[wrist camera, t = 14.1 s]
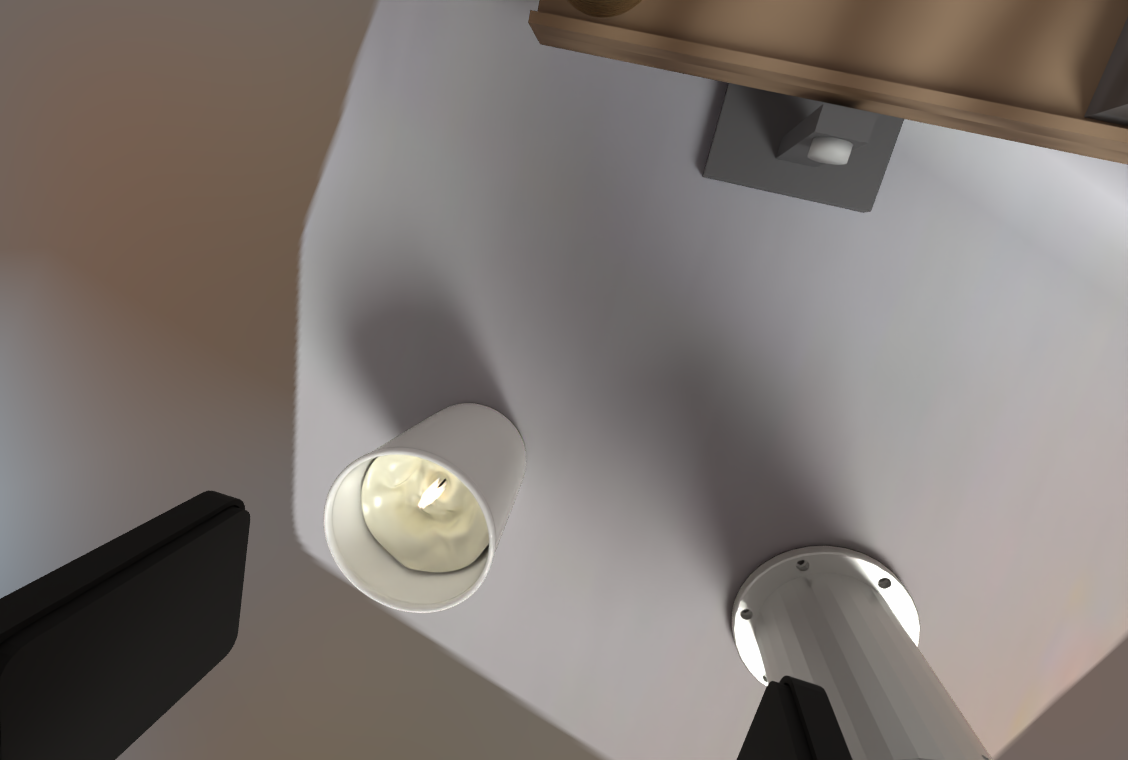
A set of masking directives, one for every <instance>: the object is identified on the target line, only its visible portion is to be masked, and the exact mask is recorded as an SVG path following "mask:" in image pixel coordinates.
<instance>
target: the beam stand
mask: <svg viewBox="0 0 1128 760" xmlns="http://www.w3.org/2000/svg"><path fill="white" fill-rule="evenodd" d="M903 121H904V119H903V118H898V117H893V116H888V115H884V114H879V113H874V112H869V111H864V110H859V109H854V108H849V107H845V106H840V105H835V104H830V103H825V102H820V101H815V100H810V99H805V98H801V97H796V96H791V95H786V94H781V93H776V92H771V91H766V90H762V89H757V88H752V87H747V86H742V85H737V84H732V83H728V87H727V90H726V94H725V97H724V101H723V105H722V108H721V112H720V115H719V119H718V123H717V126H716V130H715V134H714V137H713V141H712V144H711V148H710V152H709V155H708V159H707V162H706V166H705V170H704V173H703V177H706V178H710V179H715V180H719V181H724V182H728V183H733V184H737V185H742V186H746V187H751V188H755V189H760V190H764V191H769V192H773V193H778V194H782V195H787V196H791V197H796V198H800V199H805V200H809V201H814V202H818V203H823V204H827V205H832V206H836V207H841V208H845V209H850V210H854V211H859V212H863V213H864V212H870V211H871V210H872V207H873V204H874V201H875V199H876V196H877V193H878V190H879V188H880V185H881V182H882V179H883V176H884V174H885V171H886V168H887V165H888V162H889V160H890V157H891V154H892V151H893V149H894V146H895V143H896V140H897V137H898V135H899V132H900V129H901V126H902V124H903Z"/></svg>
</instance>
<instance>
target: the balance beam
mask: <svg viewBox="0 0 1128 760" xmlns="http://www.w3.org/2000/svg"><path fill="white" fill-rule="evenodd" d="M528 23H529V25H530V27H531V28H532V30H533V32H534V34H535V36H536V37H537V39H538V41H539V43H540V44H542V45H547V46H552V47H557V48H561V49H566V50H571V51H576V52H581V53H586V54H591V55H596V56H601V57H605V58H610V59H615V60H620V61H625V62H630V63H635V64H640V65H644V66H649V67H654V68H659V69H664V70H669V71H674V72H679V73H683V74H688V75H693V76H698V77H703V78H708V79H713V80H718V81H723V82H727V83H732V84H737V85H742V86H747V87H752V88H757V89H762V90H766V91H771V92H776V93H781V94H786V95H791V96H796V97H801V98H805V99H810V100H815V101H820V102H825V103H830V104H835V105H840V106H845V107H849V108H854V109H859V110H864V111H869V112H874V113H879V114H884V115H888V116H893V117H898V118H903V119H908V120H913V121H918V122H923V123H927V124H932V125H937V126H942V127H947V128H952V129H957V130H962V131H967V132H971V133H976V134H981V135H986V136H991V137H996V138H1001V139H1006V140H1010V141H1015V142H1020V143H1025V144H1030V145H1035V146H1040V147H1045V148H1049V149H1054V150H1059V151H1064V152H1069V153H1074V154H1079V155H1084V156H1089V157H1093V158H1098V159H1103V160H1108V161H1113V162H1118V163H1123V164H1128V0H642V1H641V2H640V3H639V4H638V5H636V6H635V7H634V8H632V9H631V10H629V11H627V12H625V13H623V14H620V15H617V16H613V17H606V18H603V17H594V16H590V15H587V14H584V13H583V12H581V11H579V10H577V9H576V8H575V7H573V6H572V5H571V4H570V3H569V2H568V1H567V0H540V1H539V6H538V12H537V11H532V10H530V15H529V21H528Z"/></svg>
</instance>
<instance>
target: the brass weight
mask: <svg viewBox="0 0 1128 760" xmlns="http://www.w3.org/2000/svg"><path fill="white" fill-rule="evenodd" d="M567 1H568V2H569V3H570V4H571V5H572V6H573V7H575V8H576V9H577V10H579V11H581V12H583V13H584V14H587V15H590V16H594V17H603V18H606V17H613V16H617V15H620V14H623V13H625V12H627V11H629V10H631V9H632V8H634V7H635V6H636V5H638V4H639V3H640V2H641V1H642V0H567Z"/></svg>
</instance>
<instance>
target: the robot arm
mask: <svg viewBox="0 0 1128 760" xmlns="http://www.w3.org/2000/svg"><path fill="white" fill-rule="evenodd" d="M249 525H250V514H249V512H247V511H246V510H245V506H244V503H243V501H241V500H240V499H237V498H234V497H231V496H227V495H224V494H221V493H218V492H215V491H206V492H203V493H201V494H199V495H197V496H195V497H193V498H192V499H190V500H188V501H186V502H184V503H182V504H180V505H178V506H176V507H174V508H172V509H171V510H169V511H167V512H165V513H163V514H161V515H159V516H157V517H155V518H154V519H151V520H150V521H148V522H146V523H144V524H142V525H140V526H138V527H137V528H134V529H133V530H130V531H129V532H127V533H125V534H123V535H121V536H119V537H117V538H115V539H113V540H112V541H110V542H108V543H106V544H104V545H102V546H100V547H98V548H96V549H94V550H92V551H90V552H89V553H87V554H85V555H83V556H81V557H79V558H77V559H75V560H73V561H71V562H70V563H68V564H66V565H64V566H62V567H60V568H58V569H56V570H55V571H52V572H50V573H49V574H47V575H45V576H43V577H41V578H39V579H37V580H35V581H33V582H31V583H29V584H28V585H26V586H24V587H22V588H20V589H18V590H16V591H14V592H13V593H11V594H9V595H7V596H5V597H3V598H1V599H0V760H115V759H116V758H117V757H118V756H119V755H120V754H122V753H123V752H124V751H125V750H126V749H127V748H128V747H129V746H130V745H131V744H132V743H133V742H135V741H136V740H137V739H138V738H139V737H140V736H141V735H142V734H143V733H144V732H145V731H146V730H147V729H148V728H150V727H151V726H152V725H153V724H154V723H155V722H156V721H157V720H158V719H159V718H160V717H161V716H162V715H163V714H164V713H166V712H167V711H168V710H169V709H170V708H171V707H172V706H173V705H174V704H175V703H176V702H177V701H178V700H179V699H180V698H182V697H183V696H184V695H185V694H186V693H187V692H188V691H189V690H190V689H191V688H192V687H193V686H194V685H196V683H198V682H199V681H200V680H201V679H202V678H203V677H204V676H205V675H206V674H207V673H208V672H209V671H211V670H212V669H213V668H214V667H215V666H216V665H217V664H218V663H219V662H220V661H221V660H222V659H223V658H224V657H225V656H226V655H227V654H228V653H229V652H230V650H231V649H232V647H233V645H234V643H235V641H236V638H237V634H238V627H239V618H240V609H241V599H242V590H243V581H244V571H245V561H246V553H247V544H248V535H249ZM800 560H801V561H800ZM732 632H733V637H734V642H735V645H736V648H737V651H738V654H739V656H740V658H741V660H742V661H743V663H744V664H745V666H746V668H747V669H748V670H749V671H750V672H751V674H752V675H753V676H754V677H755V678H756V679H757V680H758V681H759V682H761V683H762V684H763V685H765V686H766V687H767V688H766V690H765V692H764V695H763V697H762V700H761V702H760V705H759V707H758V709H757V712H756V714H755V717H754V719H753V721H752V724H751V726H750V729H749V731H748V734H747V736H746V738H745V741H744V743H743V746H742V748H741V751H740V753H739V755H738V758H737V760H993V759H992V758H991V756H990V755H989V753H988V752H987V750H986V749H985V747H984V746H983V744H982V743H981V741H980V740H979V738H978V737H977V735H976V734H975V732H974V731H973V729H972V728H971V726H970V725H969V723H968V722H967V720H966V719H965V717H964V716H963V714H962V713H961V711H960V710H959V708H958V707H957V705H956V704H955V702H954V701H953V699H952V698H951V696H950V695H949V693H948V692H947V690H946V689H945V688H944V686H943V685H942V683H941V682H940V680H939V679H938V677H937V676H936V674H935V673H934V671H933V670H932V668H931V667H930V665H929V664H928V662H927V661H926V659H925V658H924V656H923V655H922V653H921V652H920V650H919V649H918V643H919V637H920V622H919V616H918V611H917V609H916V606H915V604H914V601H913V599H912V597H911V595H910V594H909V592H908V591H907V590H906V588H905V587H904V585H903V584H902V583H901V581H900V580H899V579H898V578H897V577H896V576H895V575H894V574H893V572H892V571H890V570H889V569H888V568H886V567H885V566H884V565H883V564H881V563H880V562H879V561H877V560H875V559H873V558H871V557H869V556H867V555H865V554H863V553H860V552H857V551H853V550H850V549H847V548H841V547H833V546H809V547H804V548H799V549H794V550H791V551H788V552H785V553H783V554H780V555H778V556H775V557H774V558H772V559H770V560H769V561H767V562H765V563H764V564H762V565H761V566H760V567H758V568H757V569H756V570H755V571H754V572H753V573H752V574H751V575H750V576H749V577H748V578H747V580H746V581H745V582H744V584H743V585H742V586H741V588H740V590H739V592H738V594H737V596H736V599H735V601H734V606H733V610H732Z"/></svg>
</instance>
